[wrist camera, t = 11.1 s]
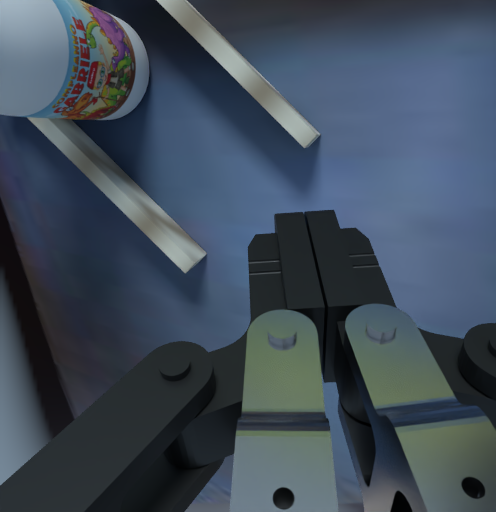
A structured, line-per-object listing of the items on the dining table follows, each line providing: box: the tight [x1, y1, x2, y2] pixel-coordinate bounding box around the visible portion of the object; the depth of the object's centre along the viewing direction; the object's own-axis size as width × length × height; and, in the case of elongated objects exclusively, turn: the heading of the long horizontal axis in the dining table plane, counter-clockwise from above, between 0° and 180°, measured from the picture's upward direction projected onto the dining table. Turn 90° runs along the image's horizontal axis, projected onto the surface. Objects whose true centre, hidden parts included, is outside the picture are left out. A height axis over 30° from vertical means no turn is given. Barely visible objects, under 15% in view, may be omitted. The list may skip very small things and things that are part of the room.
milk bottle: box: [0, 0, 149, 120], centre depth 27 cm, size 8×8×20 cm
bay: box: [27, 0, 321, 273], centre depth 35 cm, size 22×14×4 cm, turn 47°
